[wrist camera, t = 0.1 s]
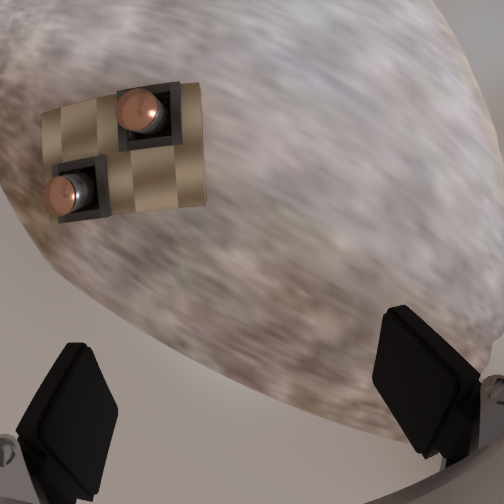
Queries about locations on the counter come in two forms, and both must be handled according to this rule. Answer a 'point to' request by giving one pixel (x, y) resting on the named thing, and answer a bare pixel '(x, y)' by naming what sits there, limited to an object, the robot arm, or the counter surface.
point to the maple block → (129, 154)
